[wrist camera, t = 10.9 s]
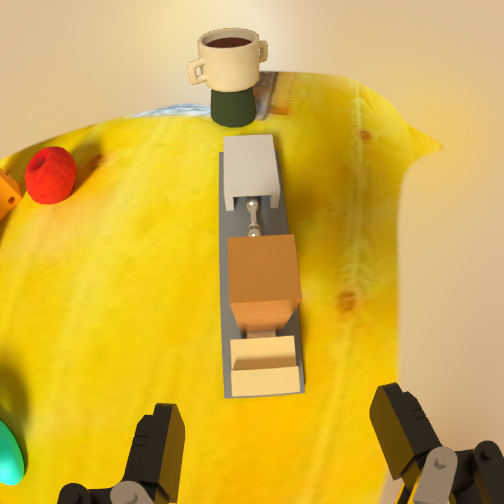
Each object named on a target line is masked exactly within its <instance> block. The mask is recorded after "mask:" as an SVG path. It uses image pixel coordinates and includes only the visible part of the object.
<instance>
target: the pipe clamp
mask: <svg viewBox="0 0 504 504" xmlns="http://www.w3.org/2000/svg"><path fill="white" fill-rule="evenodd" d="M21 200H22V195H21V191H20V186H19V183H18V182H17V181H16V180H15V179H14V178H13V177H12V176H11V175H10V174H8V175H6V174H5V173H4V172H3V171H2V169H1V168H0V221H1V220H2V219H3V218H4V217H5V216H6V215H7V214H8V213H9V212H10V211H11V210H12V209H13V207H14V206H15V205H16V204H17V203H18V202H20V201H21Z"/></svg>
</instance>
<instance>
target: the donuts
mask: <svg viewBox="0 0 504 504" xmlns="http://www.w3.org/2000/svg"><path fill="white" fill-rule="evenodd" d="M23 475H24V462H23V457H22V454H21V451H20V448H19V446H18V444H17V442H16V440H15V438H14V436H13V434H12V433H11V432H10V430H9V429H8V428H7V426H6V425H5V424H4V423H3V422H2V421H0V482H2V483H4V484H7V485H16V484H18V483H19V482H20V481H21V480H22V478H23Z"/></svg>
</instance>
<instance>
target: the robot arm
mask: <svg viewBox="0 0 504 504" xmlns="http://www.w3.org/2000/svg"><path fill="white" fill-rule="evenodd" d="M370 420H371V422H372V425H373V428H374V430H375V433H376V435H377V438H378V440H379V443H380V446H381V448H382V451H383V454H384V456H385V459H386V462H387V464H388V467H389V470H390V473H391V475H392V478H393V480H396V479H399V478H403V481H404V483H403V484H402V487H401V489H400V492H399V494H398V496H397V499H396V501H395V503H394V504H447V501H448V499H449V502H450V504H504V457H503V456H502V453H501V451H500V449H499V447H498V446H497V445H496V444H495V443H494V442H492V441H483V442H481V443H479V444H478V445H477V446H476V447H475V449H471V450H465V451H453V450H452V449H450V448H448V447H443V446H442V444H441V443H440V441H439V439H438V437H437V435H436V434H435V432H434V430H433V428H432V426H431V424H430V422H429V420H428V418H427V417H426V415H425V413H424V411H423V410H422V408H421V406H420V404H419V402H418V400H417V399H416V398H415V397H414V396H413V395H412V394H410V393H409V392H408V391H407V392H404V393H403V392H402V390H401V389H400V387H399V385H398V384H397V383H395V382H394V383H390V384H386V385H382V386H379V387H378V388H377V390H376V393H375V396H374V399H373V401H372V404H371V407H370ZM134 435H135V437H134V438H133V442H132V446H131V449H130V453H129V457H128V461H127V465H126V469H125V473H124V476H123V478H122V480H121V481H120V482H119V483H118V484H116V485H115V486H114V487H111V488H106V489H86V488H85V487H84V486H82V485H80V484H77V483H70V484H67V485H65V486H64V487H63V488H62V489H61V491H60V494H59V498H58V502H57V504H169V503H177V498H178V489H179V481H180V473H181V464H182V457H183V449H184V442H185V426H184V423H183V420H182V418H181V415H180V413H179V410H178V407H177V405H176V404H168V403H157V404H156V405H155V408H154V412H153V415H144V416H143V418H142V419H141V420H140V421H139V423H138V424H137V427H136V431H135V434H134Z"/></svg>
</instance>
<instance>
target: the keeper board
mask: <svg viewBox="0 0 504 504" xmlns="http://www.w3.org/2000/svg"><path fill="white" fill-rule="evenodd" d="M246 196H257V197H258V207H259V208H258V211H257V212H256V223H257V224H259V226H260V232H261V236H269V235H288V234H289V229H288V222H287V214H286V207H285V200H284V192H283V185H282V179H281V172H280V165H279V159H278V152H277V149H276V150H274V144H273V137H272V134H268V135H243V136H227V137H224V152H219V264H220V305H221V335H222V358H223V378H224V397H225V398H249V397H265V396H278V395H289V394H298V393H305V389H304V375H303V363H302V351H301V339H300V328H299V318H298V308H297V307H296V309H295V311H294V312H293V314H292V315H291V317H290V318H289V320H288V322H287V323H286V325H285V326H284V328H283V329H282V331H281V332H276V337H270V338H254V339H247V334H241V333H240V330H239V328H238V325H237V322H236V320H235V317H234V314H233V311H232V309H231V306H230V300H229V271H228V238H233V237H248V226H249V224H251V216H250V213H249V212H248V211H247V206H246Z"/></svg>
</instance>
